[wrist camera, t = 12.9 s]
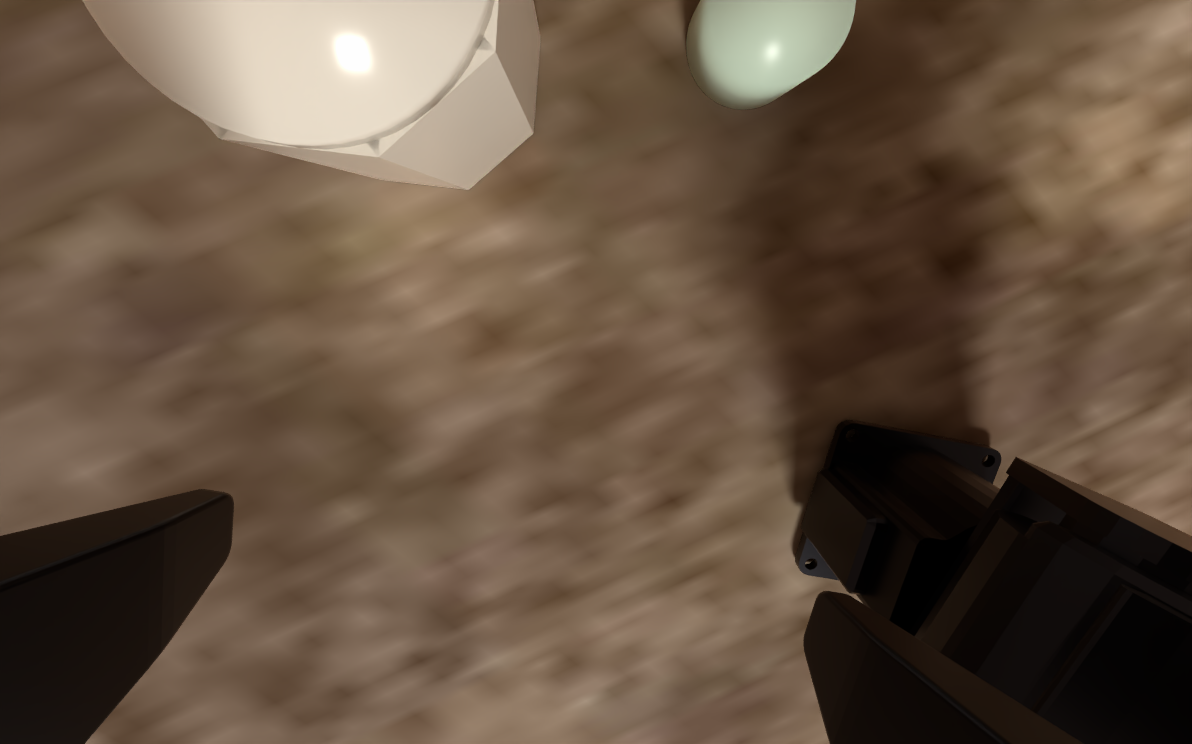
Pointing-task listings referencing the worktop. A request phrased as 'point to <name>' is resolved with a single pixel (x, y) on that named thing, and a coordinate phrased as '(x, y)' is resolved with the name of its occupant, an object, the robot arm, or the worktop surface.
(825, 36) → the pale green rounded knob
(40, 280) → the worktop surface
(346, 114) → the tumbler
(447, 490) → the worktop surface
